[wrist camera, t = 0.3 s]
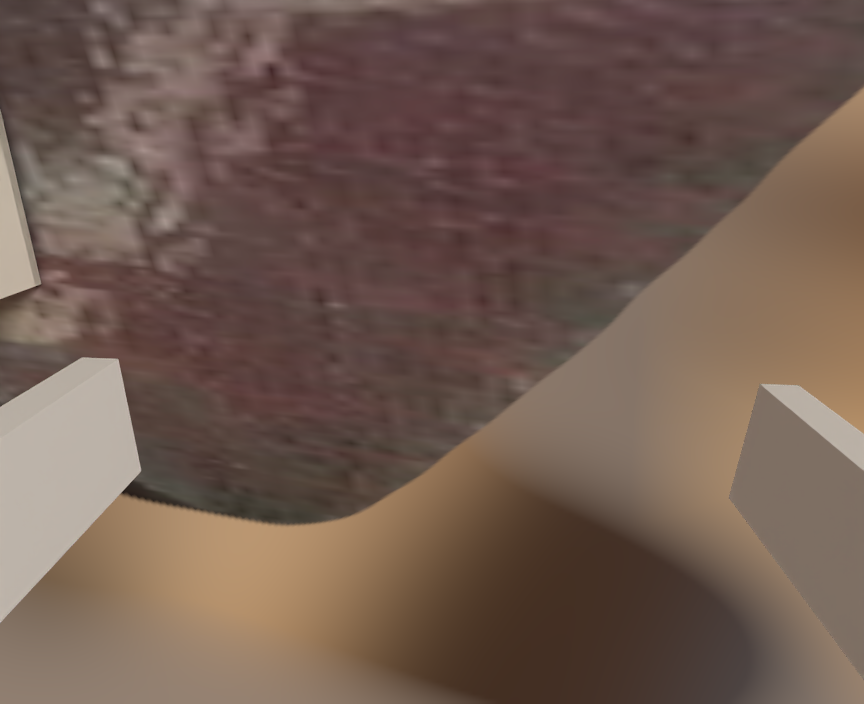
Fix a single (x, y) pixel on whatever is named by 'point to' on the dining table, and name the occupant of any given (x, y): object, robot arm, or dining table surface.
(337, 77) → the dining table surface
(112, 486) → the robot arm
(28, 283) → the tub
